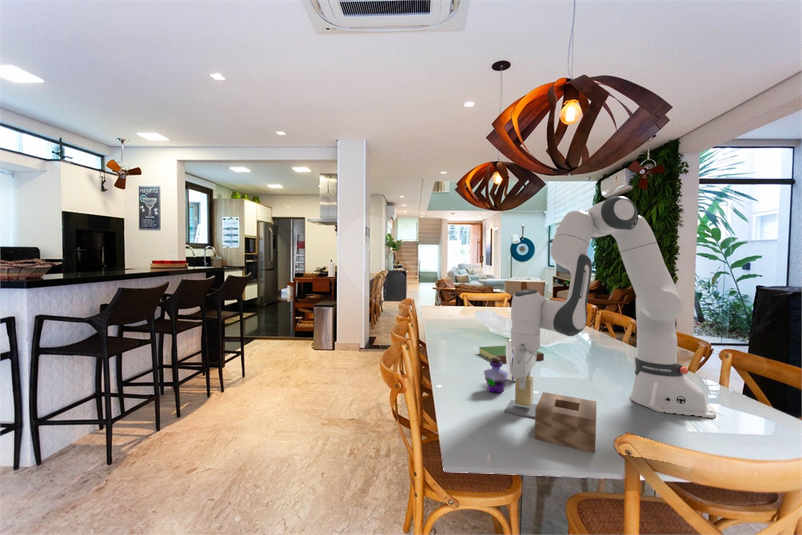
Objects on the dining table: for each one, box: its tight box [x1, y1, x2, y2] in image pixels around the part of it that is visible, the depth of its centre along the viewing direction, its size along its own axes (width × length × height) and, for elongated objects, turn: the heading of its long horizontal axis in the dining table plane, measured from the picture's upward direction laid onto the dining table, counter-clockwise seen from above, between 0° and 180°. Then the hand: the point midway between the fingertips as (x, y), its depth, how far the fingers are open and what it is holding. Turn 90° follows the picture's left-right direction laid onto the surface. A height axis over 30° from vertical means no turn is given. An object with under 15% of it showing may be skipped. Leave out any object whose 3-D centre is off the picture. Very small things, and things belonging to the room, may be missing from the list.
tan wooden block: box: [514, 375, 534, 407], centre depth 115 cm, size 4×4×8 cm
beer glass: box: [505, 339, 516, 382], centre depth 144 cm, size 7×7×15 cm
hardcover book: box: [478, 345, 545, 364], centre depth 179 cm, size 25×19×4 cm
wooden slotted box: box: [534, 391, 598, 453], centre depth 99 cm, size 14×14×8 cm
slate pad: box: [503, 399, 538, 420], centre depth 115 cm, size 10×10×1 cm
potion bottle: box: [483, 358, 508, 394], centre depth 131 cm, size 9×9×12 cm
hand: (524, 385), depth 115 cm, fingers closed on tan wooden block, 4 cm apart
